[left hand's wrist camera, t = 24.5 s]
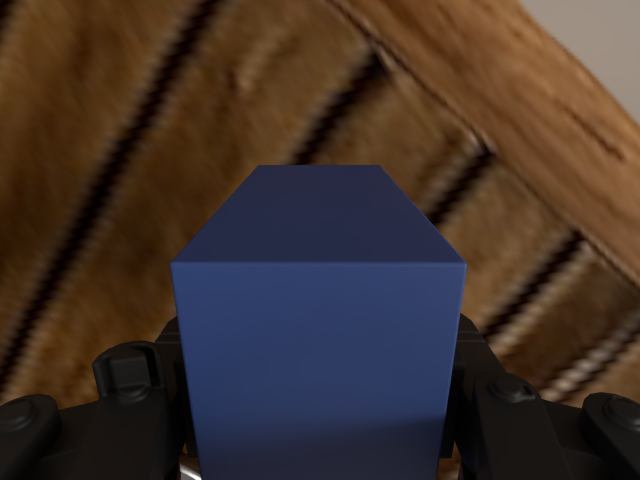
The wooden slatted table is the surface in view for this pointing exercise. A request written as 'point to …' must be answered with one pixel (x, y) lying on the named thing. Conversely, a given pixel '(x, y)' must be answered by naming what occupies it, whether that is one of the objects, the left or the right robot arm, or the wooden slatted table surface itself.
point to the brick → (318, 329)
